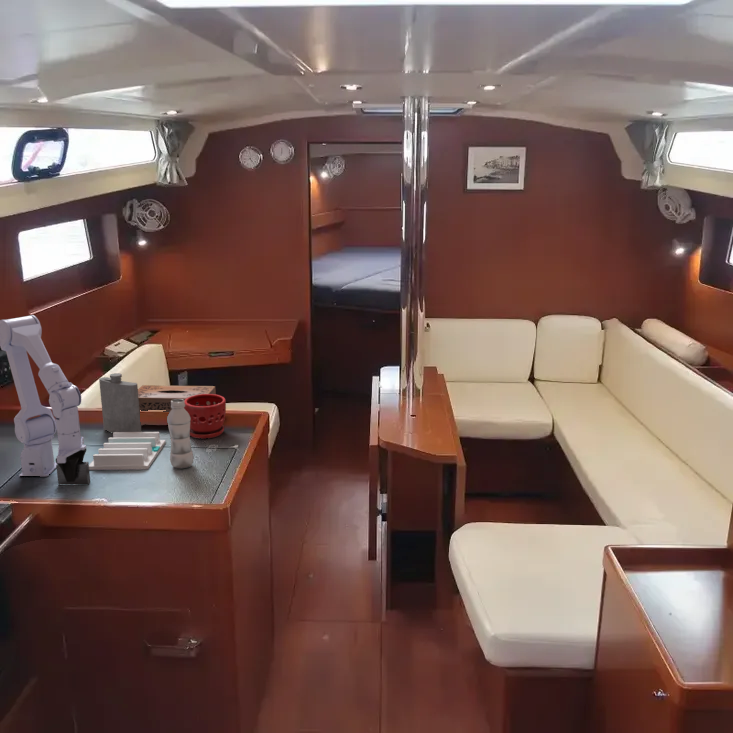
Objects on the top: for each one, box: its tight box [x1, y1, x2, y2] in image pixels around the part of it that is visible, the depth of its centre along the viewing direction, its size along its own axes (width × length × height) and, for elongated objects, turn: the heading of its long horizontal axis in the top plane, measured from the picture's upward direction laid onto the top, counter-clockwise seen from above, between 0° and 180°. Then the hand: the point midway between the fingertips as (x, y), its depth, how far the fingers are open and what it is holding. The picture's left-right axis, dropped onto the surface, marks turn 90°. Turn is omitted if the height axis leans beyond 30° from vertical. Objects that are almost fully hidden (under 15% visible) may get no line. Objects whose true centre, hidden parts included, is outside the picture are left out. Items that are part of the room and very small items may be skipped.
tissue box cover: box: [138, 384, 217, 413], centre depth 255 cm, size 26×14×10 cm, turn 87°
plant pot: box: [184, 394, 227, 440], centre depth 239 cm, size 13×13×12 cm
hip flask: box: [98, 372, 142, 434], centre depth 239 cm, size 16×4×20 cm, turn 60°
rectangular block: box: [55, 461, 91, 485], centre depth 203 cm, size 2×8×6 cm, turn 91°
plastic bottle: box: [167, 399, 195, 469], centre depth 212 cm, size 6×7×20 cm
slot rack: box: [89, 431, 166, 471], centre depth 222 cm, size 21×17×4 cm
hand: (73, 477), depth 203 cm, fingers open, 4 cm apart
